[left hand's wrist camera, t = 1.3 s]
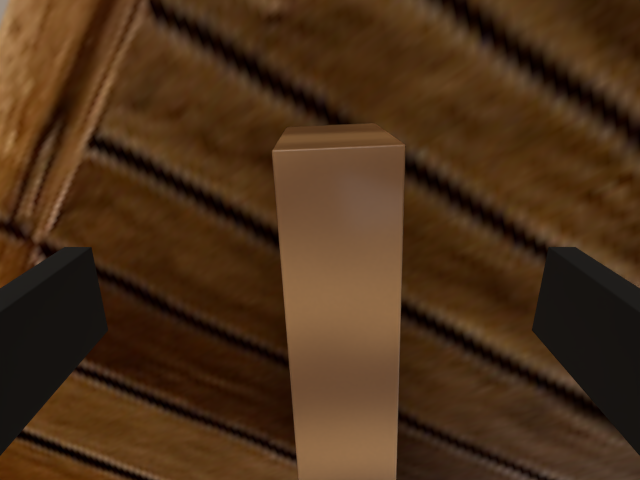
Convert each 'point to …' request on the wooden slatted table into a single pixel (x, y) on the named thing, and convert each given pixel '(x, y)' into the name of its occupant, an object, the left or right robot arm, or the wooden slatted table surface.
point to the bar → (342, 294)
